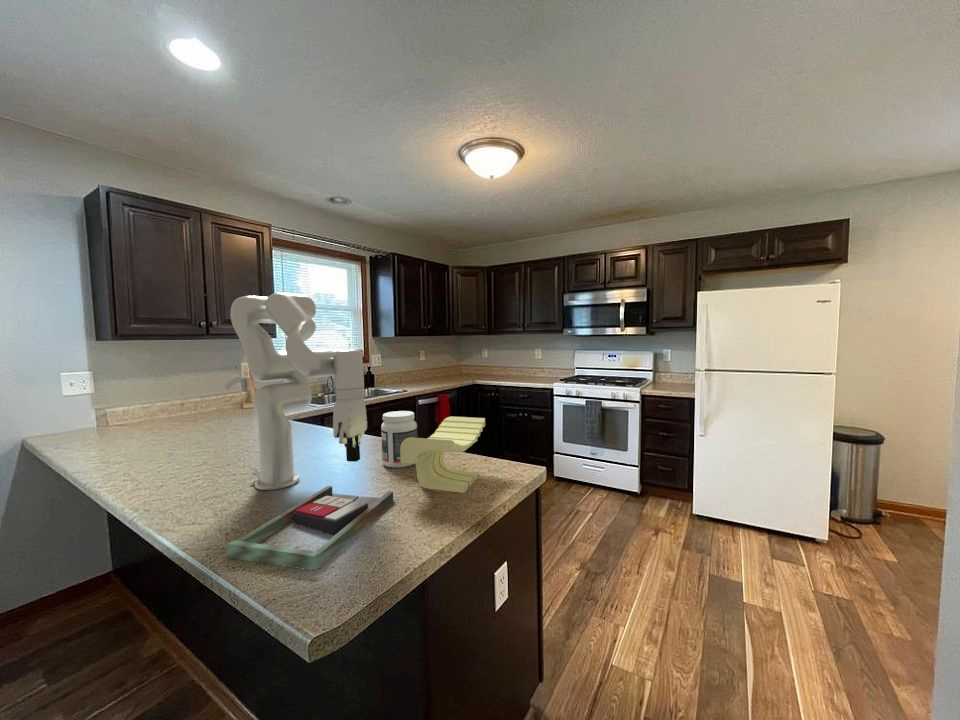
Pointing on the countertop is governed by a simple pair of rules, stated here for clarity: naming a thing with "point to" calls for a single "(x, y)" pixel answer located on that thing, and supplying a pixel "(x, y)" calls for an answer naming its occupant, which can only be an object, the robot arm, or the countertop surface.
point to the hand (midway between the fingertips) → (353, 460)
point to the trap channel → (300, 558)
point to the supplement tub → (396, 436)
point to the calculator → (329, 514)
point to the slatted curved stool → (430, 452)
